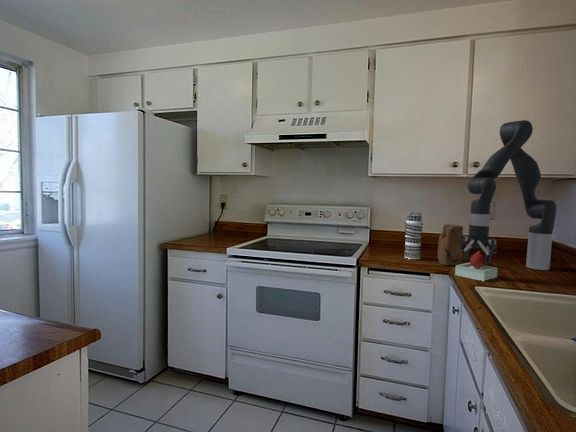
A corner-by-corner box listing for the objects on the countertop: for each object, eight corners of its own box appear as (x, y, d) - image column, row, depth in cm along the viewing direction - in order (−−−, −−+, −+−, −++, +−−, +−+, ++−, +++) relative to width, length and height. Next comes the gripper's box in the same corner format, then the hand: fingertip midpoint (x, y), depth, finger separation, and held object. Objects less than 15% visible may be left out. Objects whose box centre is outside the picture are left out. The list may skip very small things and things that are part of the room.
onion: (466, 268, 148) (468, 250, 148) (473, 267, 152) (475, 249, 151) (480, 271, 143) (482, 252, 143) (487, 270, 147) (488, 251, 146)
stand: (468, 271, 156) (469, 262, 156) (496, 277, 147) (497, 267, 146) (455, 274, 149) (455, 265, 149) (483, 281, 140) (484, 271, 139)
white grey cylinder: (409, 255, 191) (411, 211, 189) (424, 258, 183) (427, 212, 181) (399, 257, 185) (401, 211, 183) (414, 260, 178) (417, 213, 176)
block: (452, 262, 176) (454, 223, 174) (463, 265, 169) (466, 225, 167) (434, 263, 173) (437, 224, 171) (445, 266, 166) (448, 225, 164)
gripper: (501, 225, 143) (498, 263, 144) (466, 222, 154) (464, 257, 155) (493, 226, 138) (490, 265, 139) (458, 223, 150) (456, 259, 151)
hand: (476, 261), depth 147 cm, fingers open, 8 cm apart
